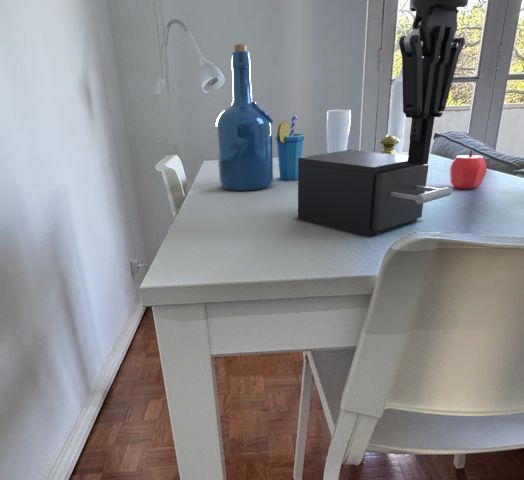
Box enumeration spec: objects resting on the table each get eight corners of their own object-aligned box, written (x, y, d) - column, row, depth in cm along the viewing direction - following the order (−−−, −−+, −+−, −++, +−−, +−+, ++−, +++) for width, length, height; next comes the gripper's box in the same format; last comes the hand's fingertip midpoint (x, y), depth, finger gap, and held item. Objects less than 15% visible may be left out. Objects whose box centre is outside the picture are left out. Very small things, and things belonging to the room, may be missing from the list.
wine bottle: (218, 192, 112) (207, 43, 97) (221, 182, 124) (212, 47, 109) (275, 190, 112) (273, 41, 97) (273, 180, 124) (271, 45, 109)
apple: (457, 191, 105) (464, 153, 101) (440, 185, 112) (445, 149, 108) (490, 189, 106) (498, 151, 102) (471, 183, 113) (477, 147, 109)
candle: (404, 164, 141) (414, 66, 129) (406, 167, 135) (417, 66, 123) (379, 164, 142) (388, 68, 130) (380, 167, 136) (389, 67, 124)
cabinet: (417, 220, 85) (425, 157, 80) (368, 236, 78) (374, 167, 72) (346, 206, 96) (349, 149, 91) (297, 218, 89) (298, 157, 84)
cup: (283, 173, 133) (282, 114, 126) (309, 173, 131) (311, 113, 124) (269, 182, 122) (268, 118, 114) (298, 183, 120) (299, 117, 112)
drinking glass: (350, 167, 139) (353, 110, 131) (327, 168, 138) (329, 111, 131) (344, 163, 145) (347, 109, 137) (323, 164, 144) (324, 110, 137)
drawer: (453, 223, 79) (463, 167, 75) (409, 239, 72) (417, 178, 68) (353, 203, 94) (356, 156, 90) (309, 215, 87) (310, 164, 83)
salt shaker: (406, 177, 122) (411, 135, 117) (386, 181, 118) (390, 138, 114) (384, 174, 127) (388, 133, 122) (365, 177, 124) (368, 136, 119)
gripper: (443, -17, 68) (420, 157, 80) (388, -27, 61) (371, 166, 73) (494, -26, 63) (461, 161, 75) (440, -37, 56) (413, 171, 68)
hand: (417, 163), depth 74 cm, fingers closed
